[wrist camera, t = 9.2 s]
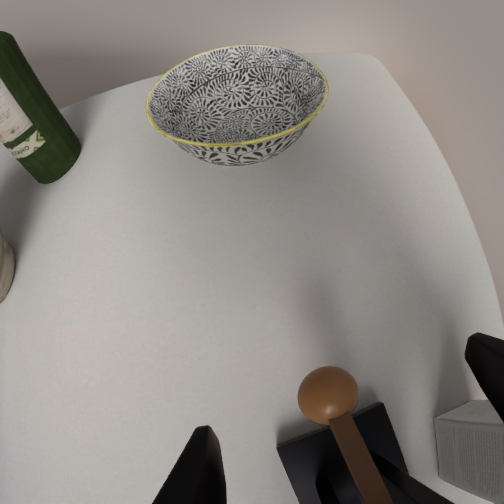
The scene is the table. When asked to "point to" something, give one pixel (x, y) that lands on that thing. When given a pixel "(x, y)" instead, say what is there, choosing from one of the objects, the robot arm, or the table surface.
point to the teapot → (5, 267)
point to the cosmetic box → (472, 449)
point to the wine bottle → (32, 118)
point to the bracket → (336, 470)
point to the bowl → (237, 103)
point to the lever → (342, 426)
